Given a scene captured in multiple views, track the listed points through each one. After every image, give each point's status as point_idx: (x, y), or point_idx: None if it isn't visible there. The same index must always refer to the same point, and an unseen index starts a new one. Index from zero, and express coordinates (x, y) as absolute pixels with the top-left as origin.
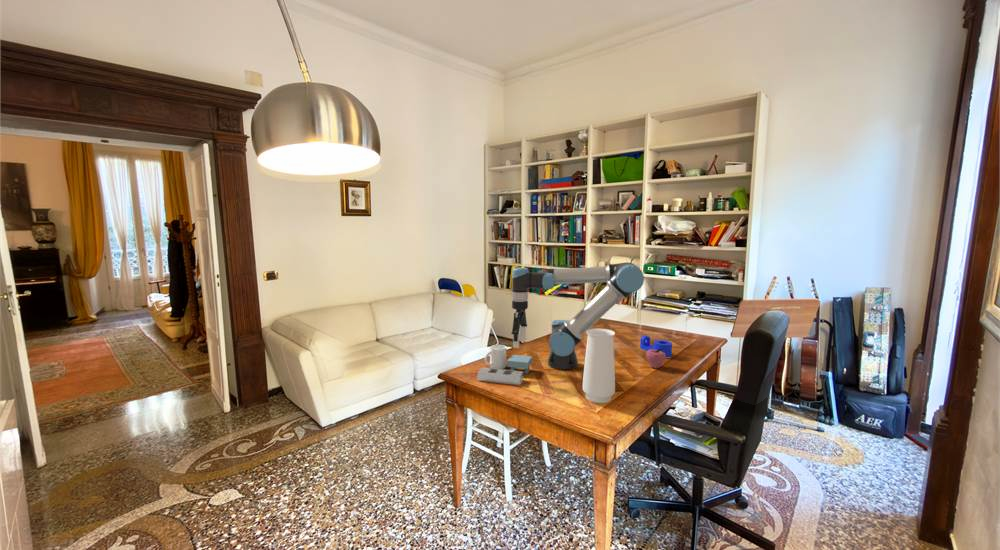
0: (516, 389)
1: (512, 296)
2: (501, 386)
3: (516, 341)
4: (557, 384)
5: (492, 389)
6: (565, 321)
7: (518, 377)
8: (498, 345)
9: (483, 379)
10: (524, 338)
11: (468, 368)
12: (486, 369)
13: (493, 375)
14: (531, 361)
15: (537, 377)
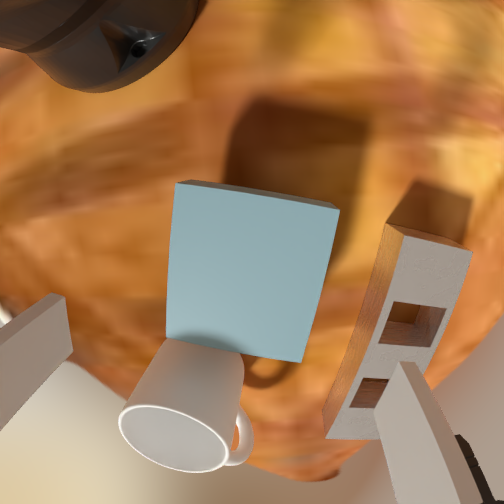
0: (483, 253)
1: None
2: (449, 321)
3: (456, 439)
4: (418, 43)
5: (466, 347)
6: None
7: (467, 259)
8: (127, 432)
9: None
10: (54, 310)
11: None
12: (357, 420)
13: None
14: (197, 181)
15: (342, 136)
